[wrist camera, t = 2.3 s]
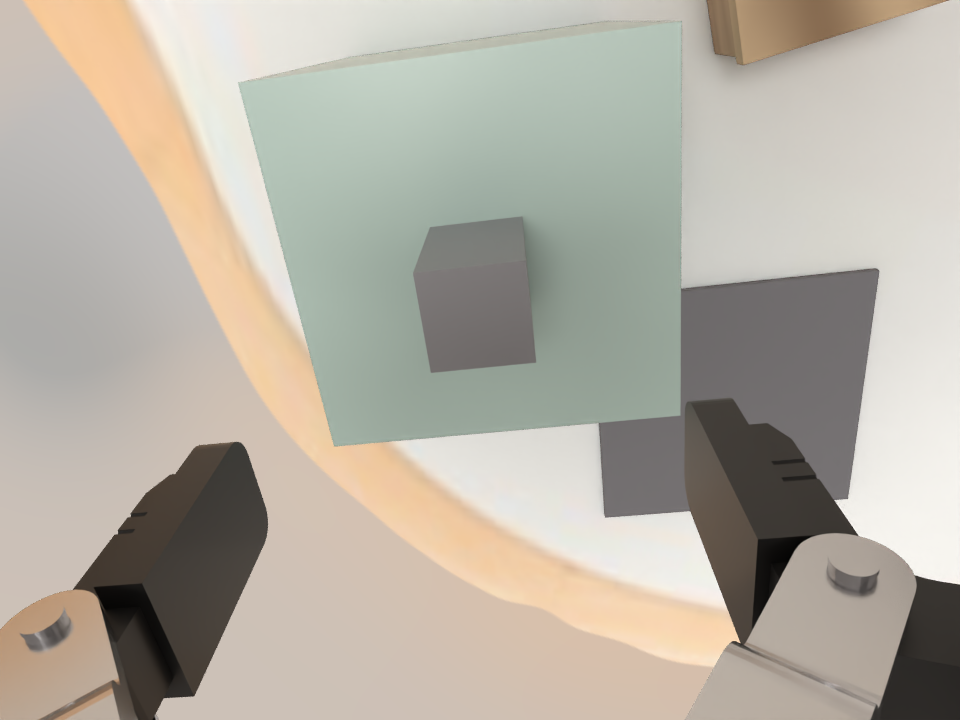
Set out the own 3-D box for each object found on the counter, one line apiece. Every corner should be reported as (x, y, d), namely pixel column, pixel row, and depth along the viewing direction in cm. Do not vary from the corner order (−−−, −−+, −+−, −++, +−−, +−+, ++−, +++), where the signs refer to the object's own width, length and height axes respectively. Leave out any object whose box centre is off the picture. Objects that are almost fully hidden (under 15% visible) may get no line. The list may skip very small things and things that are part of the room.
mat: (875, 268, 39) (879, 270, 38) (845, 495, 46) (847, 498, 45) (592, 298, 40) (592, 300, 40) (604, 513, 47) (605, 517, 47)
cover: (606, 21, 33) (728, 21, 15) (616, 271, 39) (714, 491, 21) (349, 57, 35) (171, 97, 16) (395, 295, 40) (302, 524, 22)
